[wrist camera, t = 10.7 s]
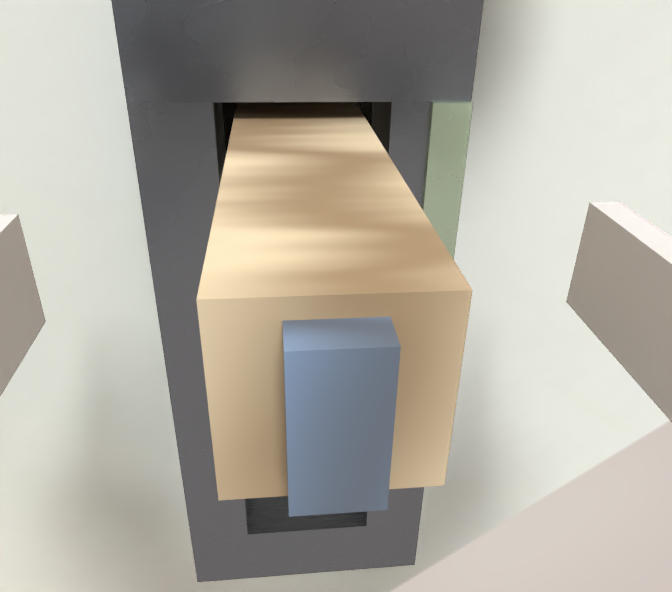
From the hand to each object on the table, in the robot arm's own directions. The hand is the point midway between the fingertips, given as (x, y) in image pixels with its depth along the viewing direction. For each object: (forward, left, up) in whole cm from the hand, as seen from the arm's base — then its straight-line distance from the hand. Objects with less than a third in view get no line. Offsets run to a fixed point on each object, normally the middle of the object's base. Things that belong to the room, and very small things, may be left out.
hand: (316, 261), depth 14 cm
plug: (0, 0, -9) cm, 9 cm away
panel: (0, -6, -9) cm, 11 cm away
